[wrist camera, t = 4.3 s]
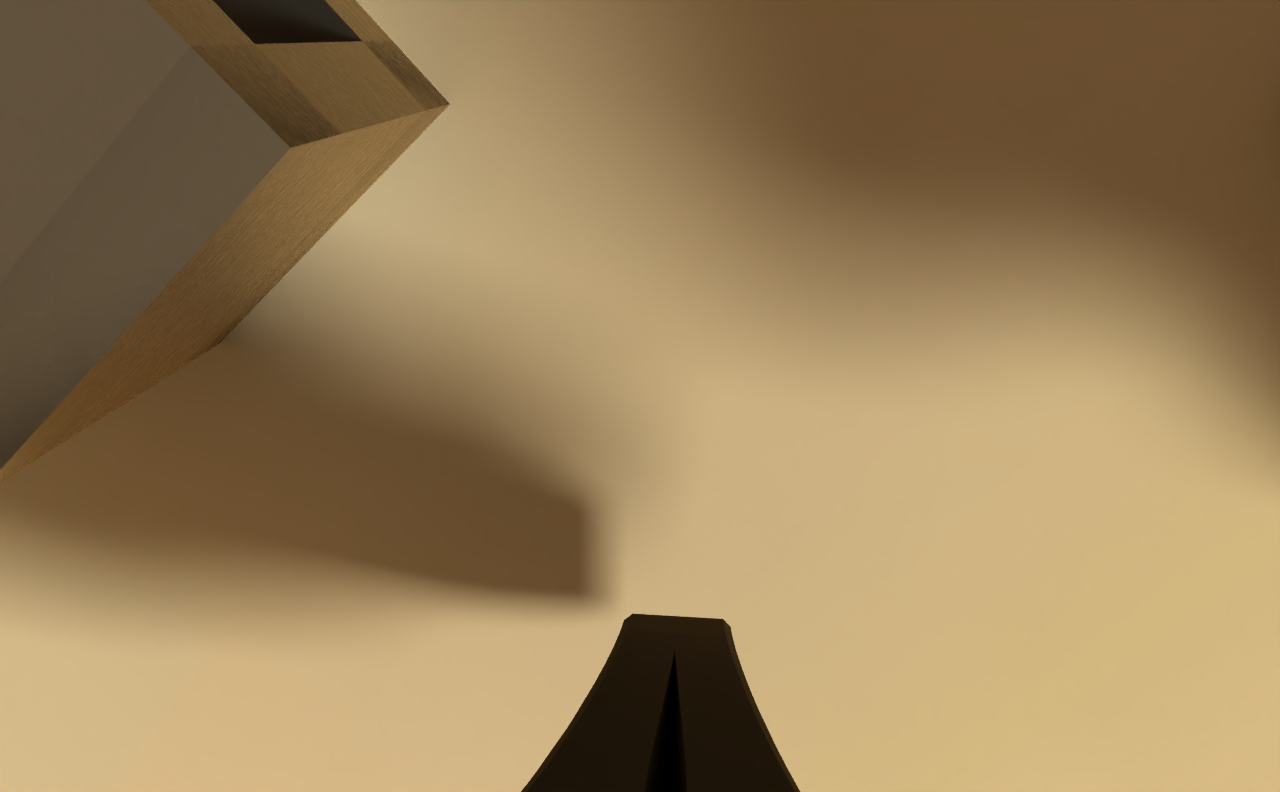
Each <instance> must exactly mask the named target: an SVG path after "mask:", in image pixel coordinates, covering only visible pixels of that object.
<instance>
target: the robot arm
mask: <svg viewBox="0 0 1280 792" xmlns="http://www.w3.org/2000/svg"><path fill="white" fill-rule="evenodd" d="M521 792H800V791H799V789H798V787H797V785H796V783H795V782H794V780H793V778H792V776H791V774H790V772H789V771H788V769H787V767H786V765H785V763H784V761H783V759H782V757H781V755H780V754H779V752H778V750H777V748H776V746H775V744H774V742H773V739H772V737H771V735H770V733H769V731H768V729H767V727H766V725H765V722H764V720H763V718H762V716H761V714H760V712H759V710H758V707H757V705H756V703H755V700H754V698H753V696H752V693H751V691H750V688H749V686H748V683H747V681H746V678H745V675H744V673H743V670H742V667H741V664H740V661H739V659H738V655H737V652H736V649H735V645H734V641H733V638H732V633H731V627H730V626H729V625H728V624H727V623H726V622H725V621H724V620H723V619H713V618H696V617H679V616H662V615H645V614H632V615H630V616H629V617H628V618H626V619H625V620H624V622H623V625H622V628H621V631H620V633H619V636H618V638H617V640H616V643H615V645H614V647H613V649H612V651H611V653H610V655H609V657H608V659H607V661H606V663H605V665H604V667H603V669H602V671H601V673H600V674H599V676H598V678H597V680H596V682H595V684H594V685H593V687H592V689H591V690H590V692H589V694H588V695H587V697H586V698H585V700H584V702H583V703H582V705H581V707H580V708H579V710H578V712H577V713H576V715H575V717H574V718H573V720H572V721H571V723H570V724H569V726H568V728H567V729H566V731H565V732H564V733H563V735H562V736H561V738H560V739H559V741H558V742H557V743H556V745H555V746H554V748H553V749H552V750H551V752H550V753H549V755H548V756H547V758H546V759H545V760H544V762H543V763H542V765H541V766H540V768H539V769H538V770H537V772H536V773H535V774H534V776H533V777H532V778H531V780H530V781H529V782H528V784H527V785H526V786H525V787H524V789H523V790H522V791H521Z"/></svg>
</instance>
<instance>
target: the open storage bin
mask: <svg viewBox="0 0 1280 792" xmlns="http://www.w3.org/2000/svg"><path fill="white" fill-rule="evenodd" d="M449 105H450V104H449V103H448V101H447V100H446V99H445V98H444V97H443V96H442V95H441V94H440V93H439V92H438V90H437V89H436V88H435V87H434V86H433V85H432V84H431V83H430V82H429V81H428V79H427V78H426V77H425V76H424V75H423V74H422V73H421V72H420V71H419V70H418V68H417V67H416V66H415V65H414V64H413V63H412V62H411V61H410V60H409V59H408V57H407V56H406V55H405V54H404V53H403V52H402V51H401V50H400V49H399V48H398V46H397V45H396V44H395V43H394V42H393V41H392V40H391V39H390V38H389V37H388V35H387V34H386V33H385V32H384V31H383V30H382V29H381V28H380V27H379V26H378V24H377V23H376V22H375V21H374V20H373V19H372V18H371V17H370V16H369V15H368V14H367V12H366V11H365V10H364V9H363V8H362V7H361V6H360V5H359V4H358V3H357V1H356V0H0V482H1V481H2V480H4V479H5V478H7V477H8V476H10V475H12V474H13V473H15V472H16V471H18V470H20V469H21V468H23V467H24V466H26V465H27V464H29V463H31V462H32V461H34V460H35V459H37V458H38V457H40V456H42V455H43V454H45V453H46V452H48V451H50V450H51V449H53V448H54V447H56V446H57V445H59V444H61V443H62V442H64V441H65V440H67V439H69V438H70V437H72V436H73V435H75V434H76V433H78V432H80V431H81V430H83V429H84V428H86V427H87V426H89V425H91V424H92V423H94V422H95V421H97V420H99V419H100V418H102V417H103V416H105V415H106V414H108V413H110V412H111V411H113V410H114V409H116V408H118V407H119V406H121V405H122V404H124V403H125V402H127V401H129V400H130V399H132V398H133V397H135V396H137V395H138V394H140V393H141V392H143V391H144V390H146V389H148V388H149V387H151V386H152V385H154V384H155V383H157V382H159V381H160V380H162V379H163V378H165V377H167V376H168V375H170V374H171V373H173V372H174V371H176V370H178V369H179V368H181V367H182V366H184V365H186V364H187V363H189V362H190V361H192V360H193V359H195V358H197V357H198V356H200V355H201V354H203V353H204V352H206V351H208V350H209V349H211V348H212V347H214V346H216V345H217V344H219V343H220V342H221V341H222V340H223V339H224V338H225V337H226V336H227V334H228V333H229V332H230V331H231V330H232V329H233V328H234V327H235V326H236V325H237V324H238V323H239V322H240V321H241V320H242V319H243V318H244V317H245V316H246V315H247V314H248V313H249V312H250V311H251V310H252V309H253V308H254V307H255V305H256V304H257V303H258V302H259V301H260V300H261V299H262V298H263V297H264V296H265V295H266V294H267V293H268V292H269V291H270V290H271V289H272V288H273V287H274V286H275V285H276V284H277V283H278V282H279V281H280V280H281V279H282V278H283V276H284V275H285V274H286V273H287V272H288V271H289V270H290V269H291V268H292V267H293V266H294V265H295V264H296V263H297V262H298V261H299V260H300V259H301V258H302V257H303V256H304V255H305V254H306V253H307V252H308V251H309V250H310V249H311V247H312V246H313V245H314V244H315V243H316V242H317V241H318V240H319V239H320V238H321V237H322V236H323V235H324V234H325V233H326V232H327V231H328V230H329V229H330V228H331V227H332V226H333V225H334V224H335V223H336V222H337V221H338V220H339V218H340V217H341V216H342V215H343V214H344V213H345V212H346V211H347V210H348V209H349V208H350V207H351V206H352V205H353V204H354V203H355V202H356V201H357V200H358V199H359V198H360V197H361V196H362V195H363V194H364V193H365V192H366V191H367V189H368V188H369V187H370V186H371V185H372V184H373V183H374V182H375V181H376V180H377V179H378V178H379V177H380V176H381V175H382V174H383V173H384V172H385V171H386V170H387V169H388V168H389V167H390V166H391V165H392V164H393V163H394V162H395V160H396V159H397V158H398V157H399V156H400V155H401V154H402V153H403V152H404V151H405V150H406V149H407V148H408V147H409V146H410V145H411V144H412V143H413V142H414V141H415V140H416V139H417V138H418V137H419V136H420V135H421V134H422V132H423V131H424V130H425V129H426V128H427V127H428V126H429V125H430V124H431V123H432V122H433V121H434V120H435V119H436V118H437V117H438V116H439V115H440V114H441V113H442V112H443V111H444V110H445V109H446V108H447V107H448V106H449Z"/></svg>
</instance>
